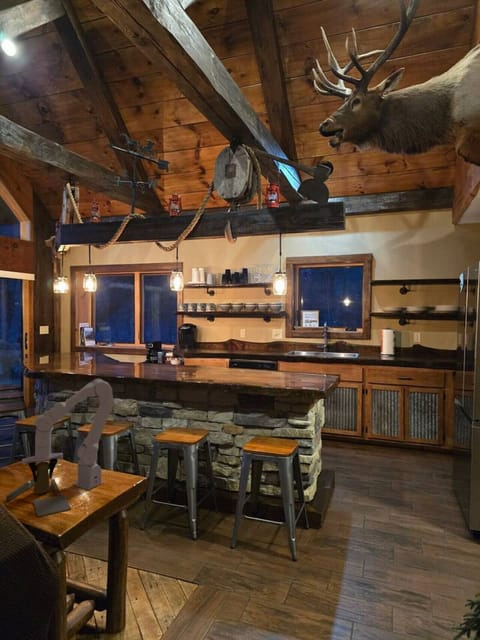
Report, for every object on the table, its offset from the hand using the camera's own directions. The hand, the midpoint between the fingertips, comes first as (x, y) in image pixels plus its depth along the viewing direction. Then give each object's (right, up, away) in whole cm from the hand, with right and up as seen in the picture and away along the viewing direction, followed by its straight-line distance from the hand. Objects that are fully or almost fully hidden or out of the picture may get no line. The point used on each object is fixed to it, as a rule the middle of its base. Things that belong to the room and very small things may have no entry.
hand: (42, 479), depth 163 cm
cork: (0, -5, 0) cm, 5 cm away
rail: (+4, -5, +3) cm, 7 cm away
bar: (-8, -5, +1) cm, 9 cm away
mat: (+9, -6, -11) cm, 15 cm away
